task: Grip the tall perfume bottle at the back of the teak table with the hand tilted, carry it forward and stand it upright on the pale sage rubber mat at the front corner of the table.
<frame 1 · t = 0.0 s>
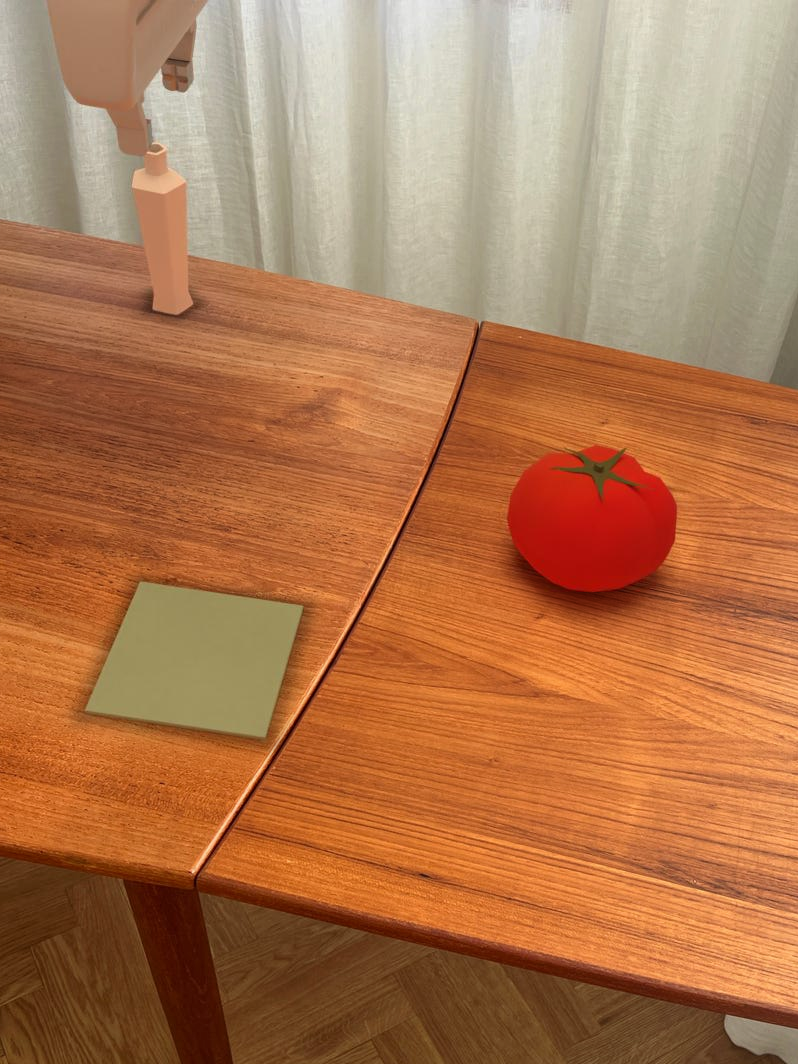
hand: (158, 117, 76), 26 cm above the table, tool pointing down, fingers open, 8 cm apart
perfume bottle: (170, 308, 107), on the table
tomato: (580, 567, 90), on the table
front mat: (200, 660, 80), on the table
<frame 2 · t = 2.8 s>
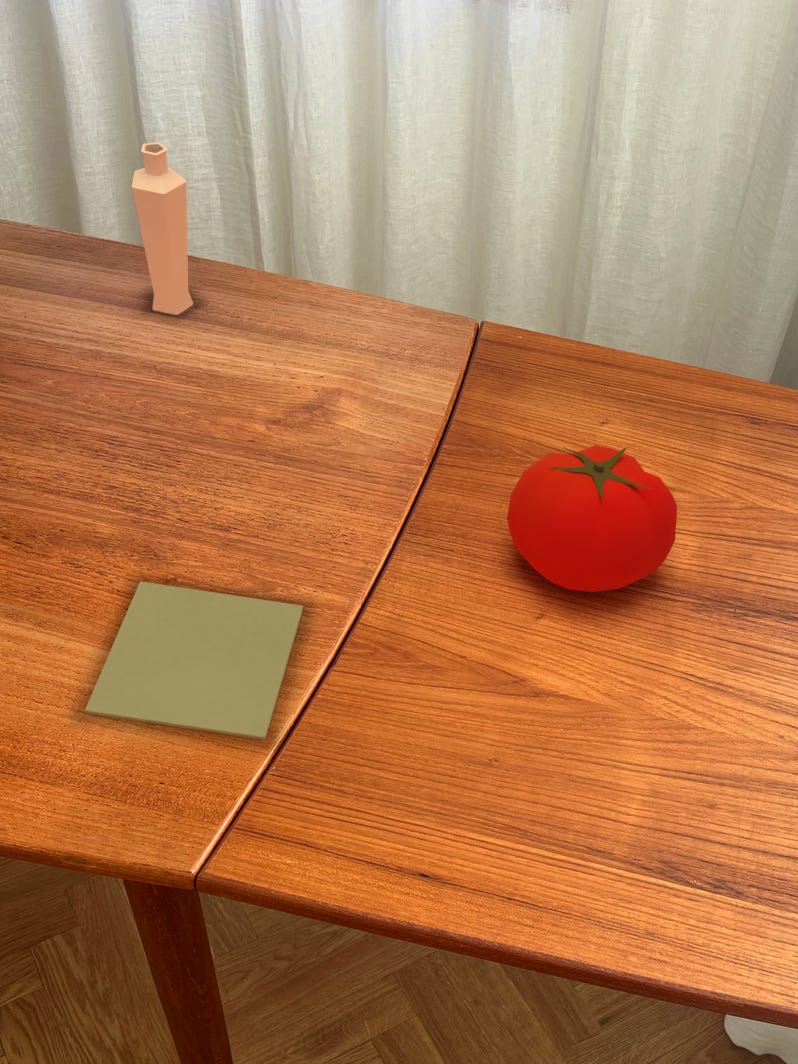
nothing on the table moved.
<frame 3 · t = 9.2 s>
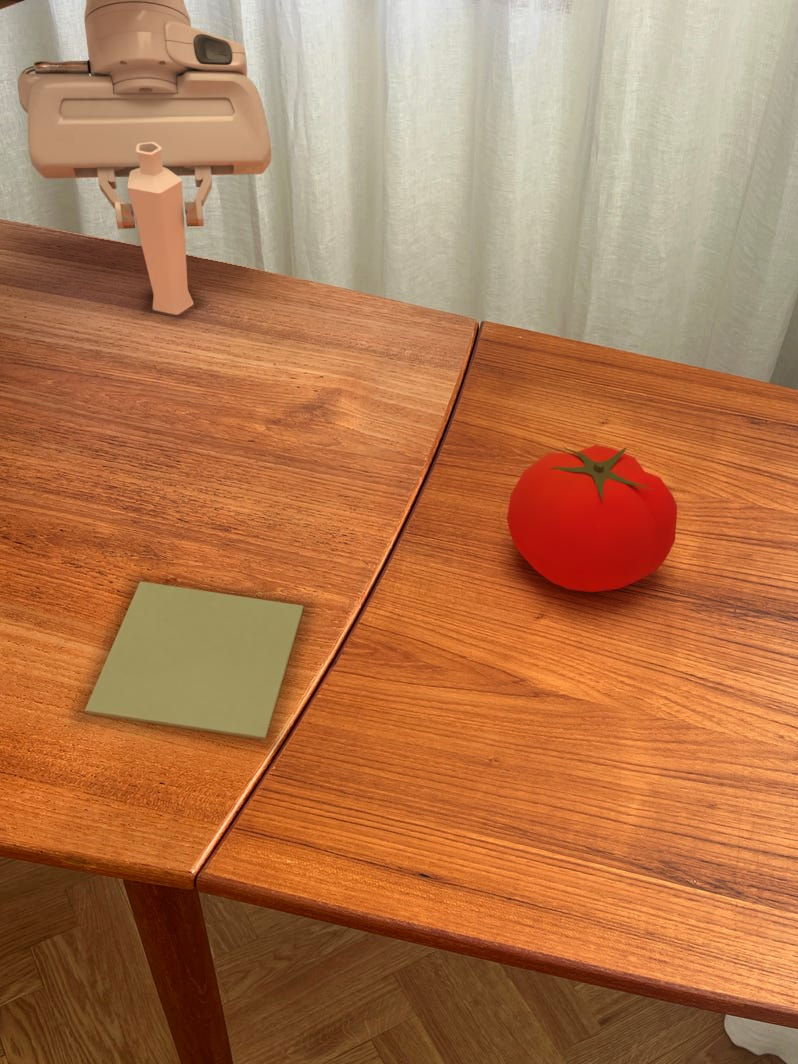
hand: (161, 226, 100), 8 cm above the table, tool tilted 45°, fingers closed on perfume bottle, 4 cm apart
perfume bottle: (170, 307, 107), on the table, touching gripper
everything else where it was.
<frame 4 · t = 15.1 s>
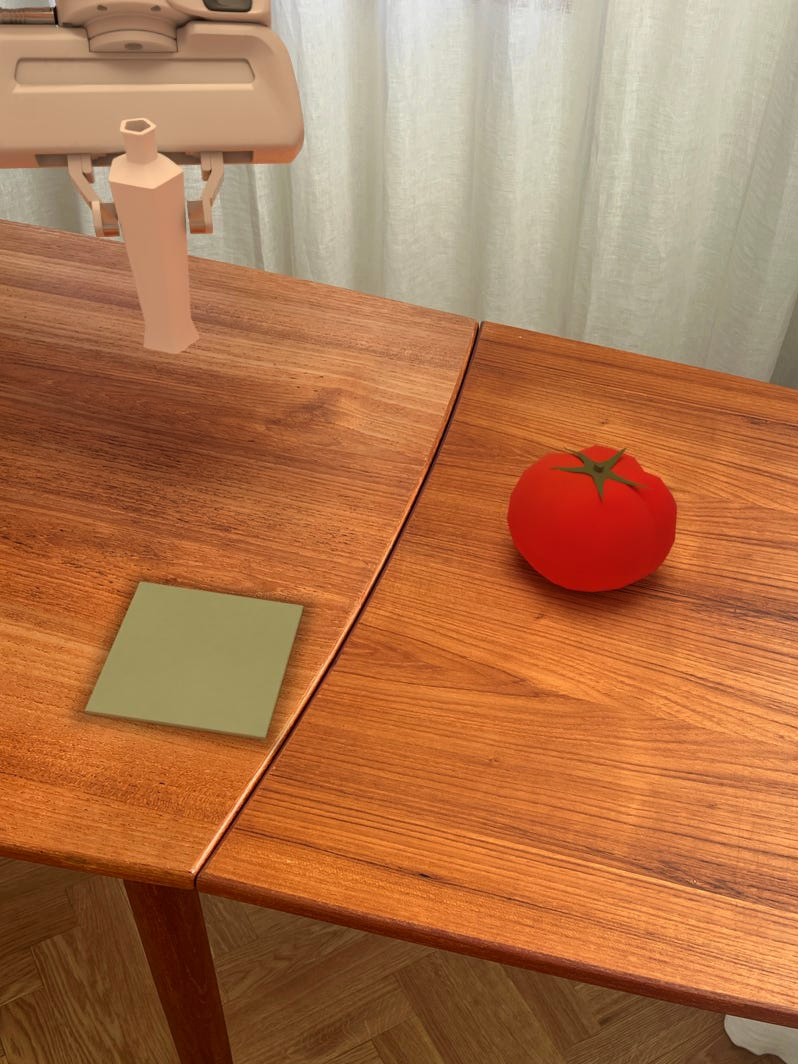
hand: (155, 233, 74), 22 cm above the table, tool tilted 45°, fingers closed on perfume bottle, 4 cm apart
perfume bottle: (167, 340, 81), point 14 cm above the table, touching gripper
everything else where it was.
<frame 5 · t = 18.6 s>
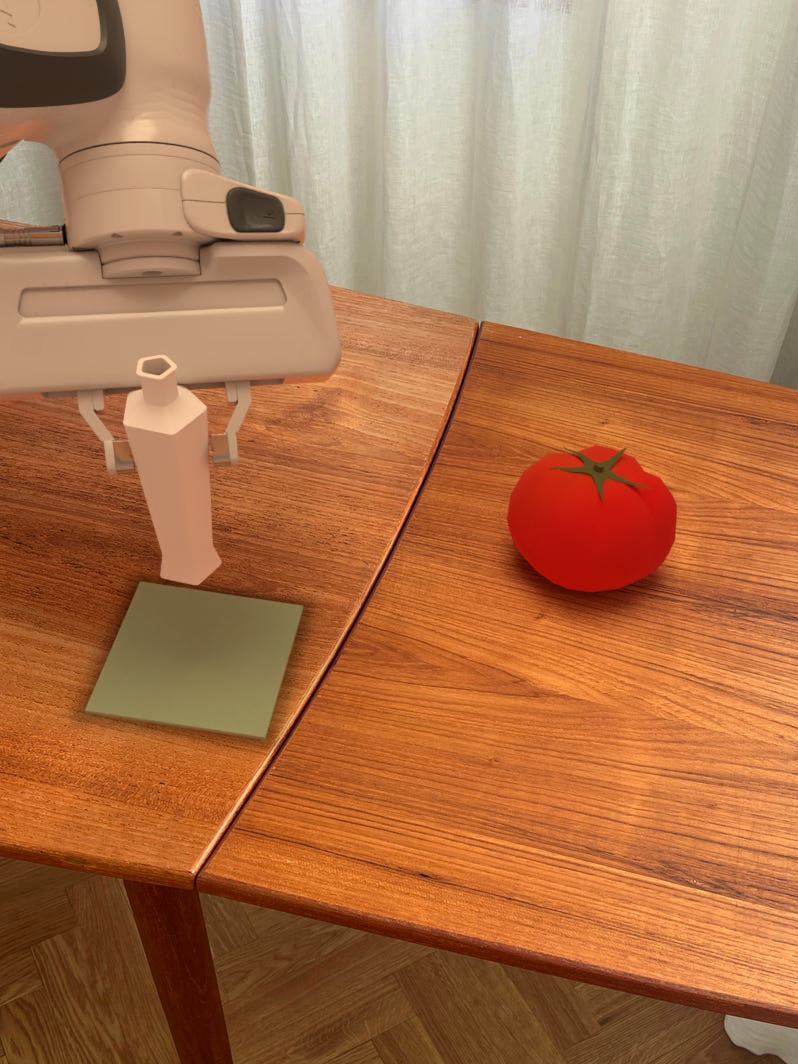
hand: (175, 470, 66), 18 cm above the table, tool tilted 45°, fingers closed on perfume bottle, 4 cm apart
perfume bottle: (186, 566, 73), point 9 cm above the table, touching gripper
everything else where it was.
when the fingers open (9 cm above the table, at t = 21.4 s): perfume bottle stays where it is, resting on front mat.
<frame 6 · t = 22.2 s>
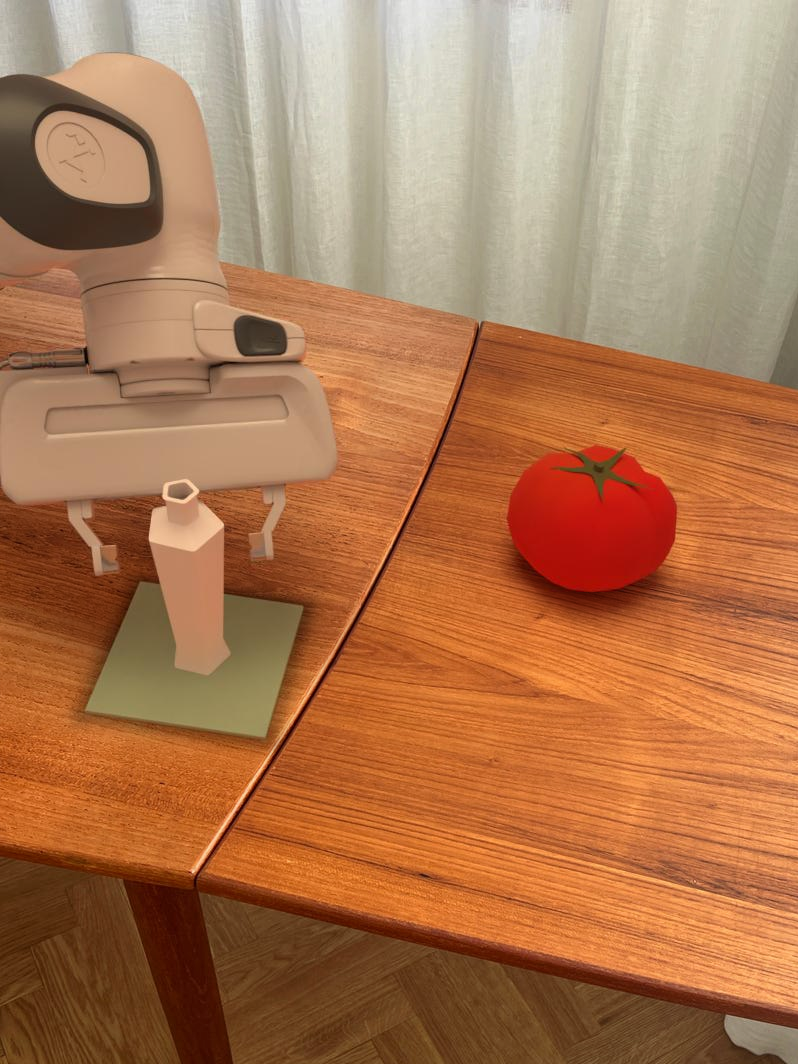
hand: (186, 567, 72), 10 cm above the table, tool tilted 45°, fingers open, 8 cm apart
perfume bottle: (198, 656, 79), resting on front mat
everything else where it was.
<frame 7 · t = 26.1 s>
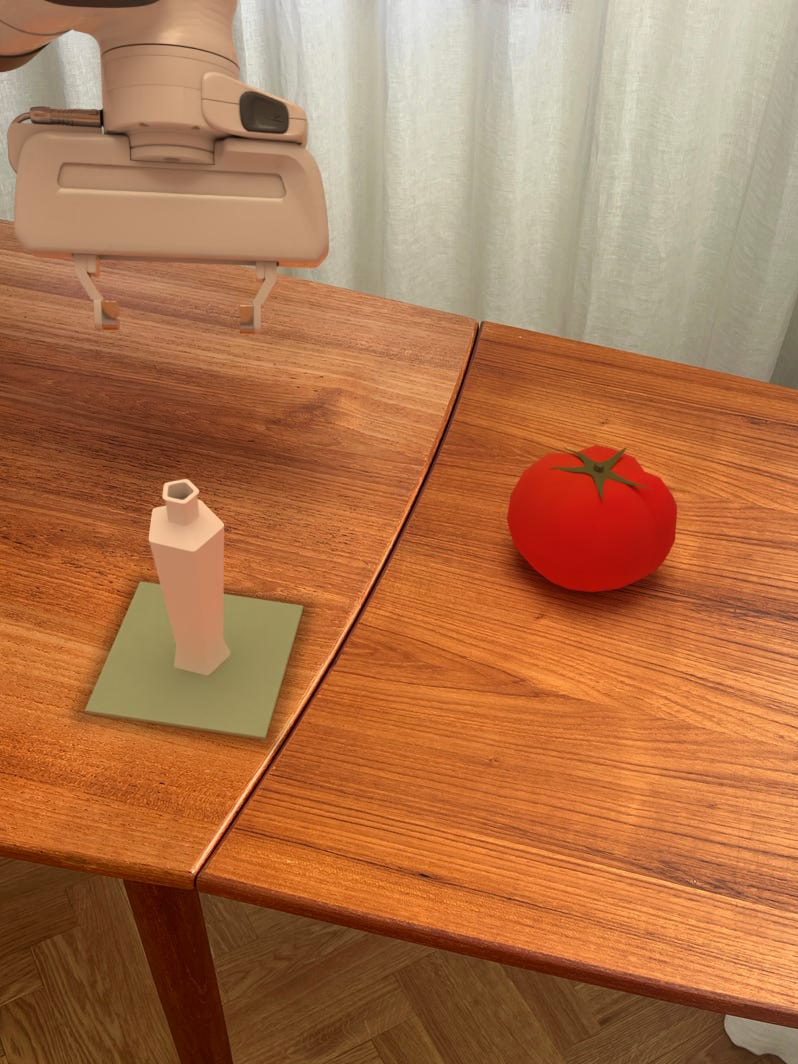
hand: (180, 331, 78), 16 cm above the table, tool tilted 40°, fingers open, 8 cm apart
nothing on the table moved.
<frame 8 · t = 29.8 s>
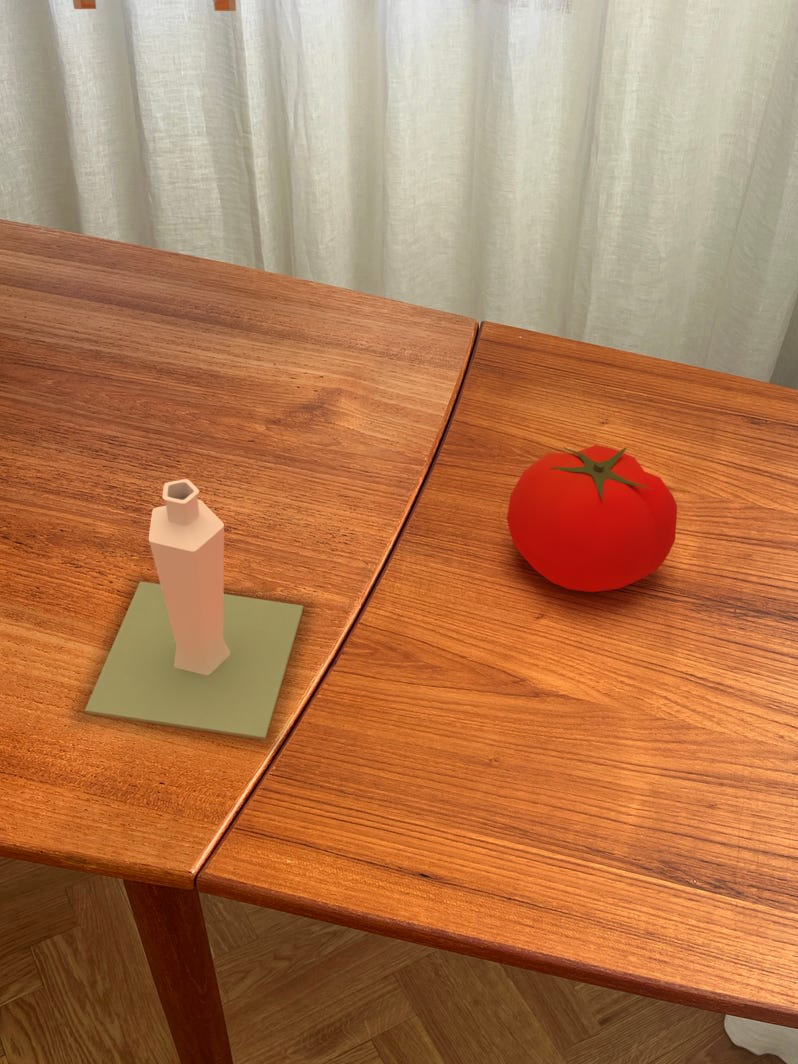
hand: (155, 7, 80), 29 cm above the table, tool pointing down, fingers open, 8 cm apart
nothing on the table moved.
at the end: perfume bottle inside the target area on the front mat (0.1 cm from its centre), point 0.4 cm above the front mat's base; perfume bottle tilted 0°; the gripper is holding nothing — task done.
